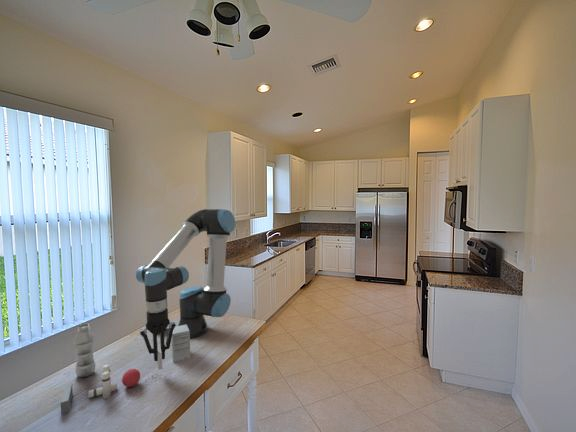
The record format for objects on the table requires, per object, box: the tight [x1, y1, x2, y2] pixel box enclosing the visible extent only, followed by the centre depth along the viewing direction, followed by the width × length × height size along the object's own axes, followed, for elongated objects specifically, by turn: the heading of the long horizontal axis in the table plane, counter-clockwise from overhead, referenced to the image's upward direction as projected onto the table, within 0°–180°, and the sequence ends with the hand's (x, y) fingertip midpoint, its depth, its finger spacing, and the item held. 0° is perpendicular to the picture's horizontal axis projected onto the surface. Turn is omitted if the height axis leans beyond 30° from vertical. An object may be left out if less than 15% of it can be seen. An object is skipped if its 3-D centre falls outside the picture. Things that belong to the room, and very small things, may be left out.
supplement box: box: [170, 325, 191, 363], centre depth 128 cm, size 7×7×13 cm
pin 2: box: [101, 371, 112, 400], centre depth 102 cm, size 2×2×8 cm
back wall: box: [60, 383, 74, 415], centre depth 98 cm, size 2×10×4 cm, turn 31°
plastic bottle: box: [73, 323, 97, 378], centre depth 115 cm, size 6×7×20 cm
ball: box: [121, 368, 141, 388], centre depth 108 cm, size 6×6×6 cm
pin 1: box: [101, 363, 112, 384], centre depth 106 cm, size 2×2×8 cm
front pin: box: [88, 382, 118, 399], centre depth 104 cm, size 2×2×8 cm
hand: (160, 367), depth 114 cm, fingers closed
